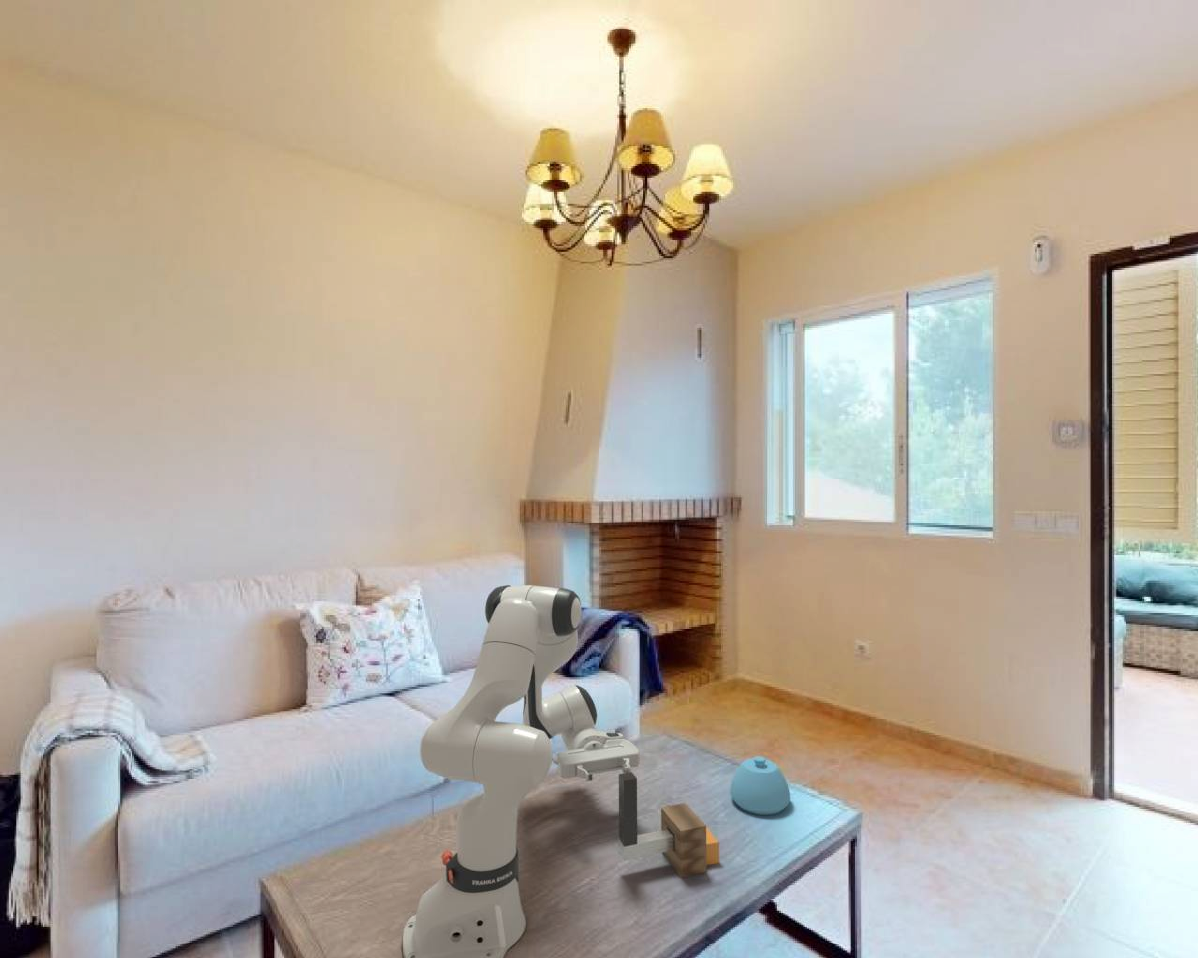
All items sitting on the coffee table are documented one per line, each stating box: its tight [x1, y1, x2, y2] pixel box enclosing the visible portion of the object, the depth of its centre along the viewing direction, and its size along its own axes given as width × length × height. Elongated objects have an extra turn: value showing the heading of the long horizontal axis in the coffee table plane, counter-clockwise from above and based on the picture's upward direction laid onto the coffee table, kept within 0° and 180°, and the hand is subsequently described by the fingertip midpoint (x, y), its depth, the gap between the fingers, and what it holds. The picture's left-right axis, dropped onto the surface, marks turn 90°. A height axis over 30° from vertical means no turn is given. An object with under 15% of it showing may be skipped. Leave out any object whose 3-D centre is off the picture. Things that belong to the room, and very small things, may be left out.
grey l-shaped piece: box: [618, 772, 675, 862], centre depth 139 cm, size 16×3×17 cm, turn 109°
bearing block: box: [660, 802, 707, 879], centre depth 141 cm, size 6×10×10 cm, turn 19°
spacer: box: [706, 826, 720, 866], centre depth 143 cm, size 4×6×5 cm, turn 15°
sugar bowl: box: [729, 755, 791, 816], centre depth 166 cm, size 15×15×12 cm
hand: (608, 774), depth 148 cm, fingers open, 8 cm apart
